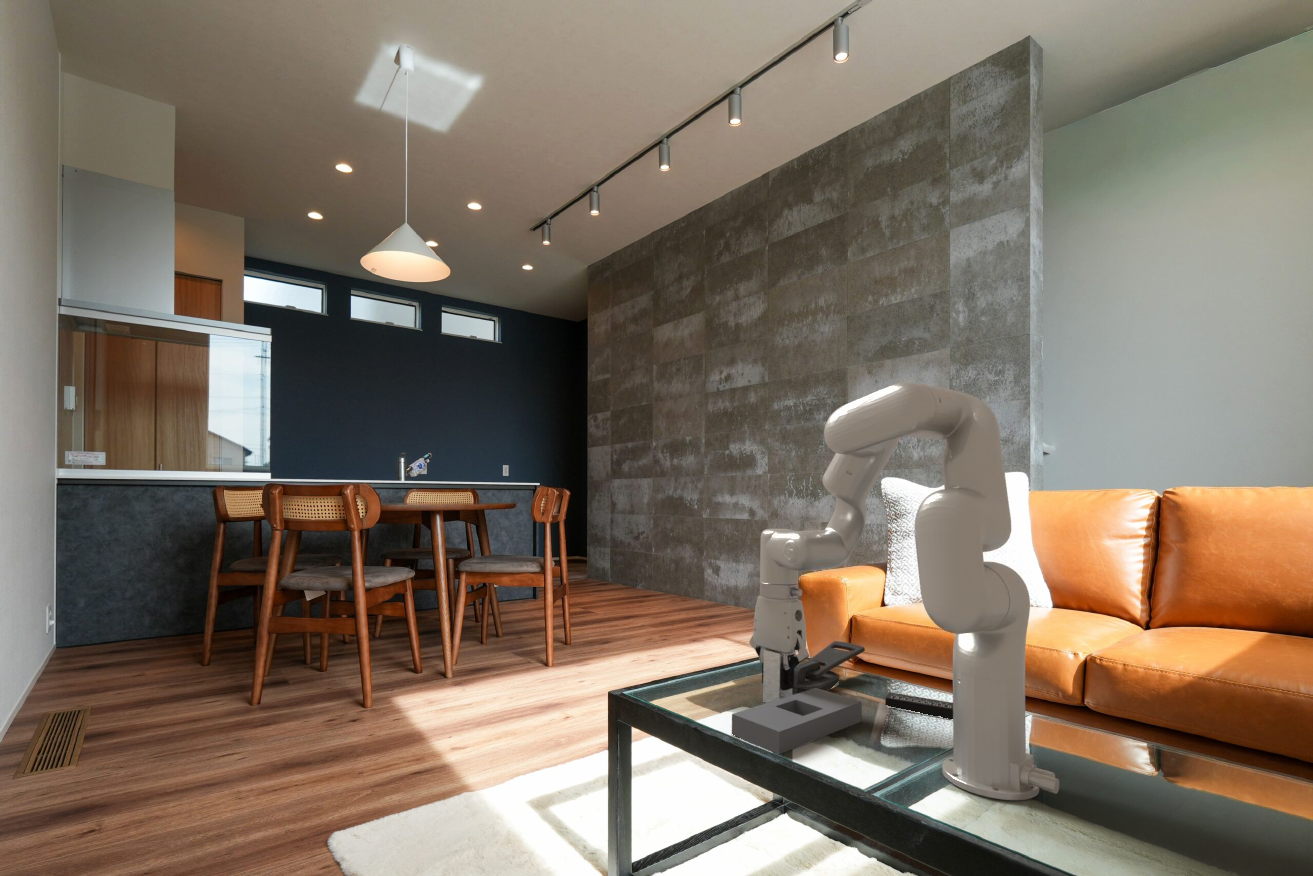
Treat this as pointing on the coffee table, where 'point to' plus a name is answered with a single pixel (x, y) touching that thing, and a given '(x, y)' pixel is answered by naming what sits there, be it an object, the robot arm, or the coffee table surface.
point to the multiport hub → (920, 705)
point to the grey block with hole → (796, 719)
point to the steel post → (773, 676)
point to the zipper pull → (813, 676)
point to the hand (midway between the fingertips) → (777, 685)
